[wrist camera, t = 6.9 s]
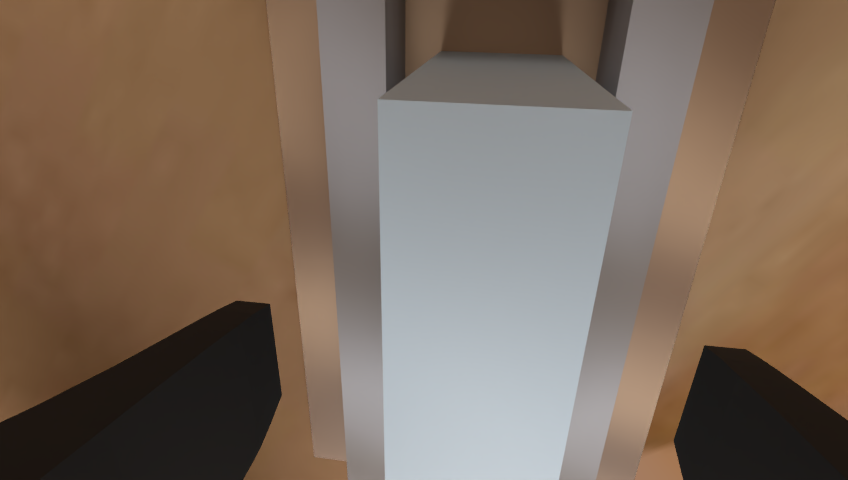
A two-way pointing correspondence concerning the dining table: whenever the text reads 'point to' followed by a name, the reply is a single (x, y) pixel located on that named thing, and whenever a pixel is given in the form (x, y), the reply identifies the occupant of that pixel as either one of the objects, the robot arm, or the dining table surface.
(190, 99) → the dining table surface
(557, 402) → the pale blue rectangular brick
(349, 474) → the track
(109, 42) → the dining table surface
